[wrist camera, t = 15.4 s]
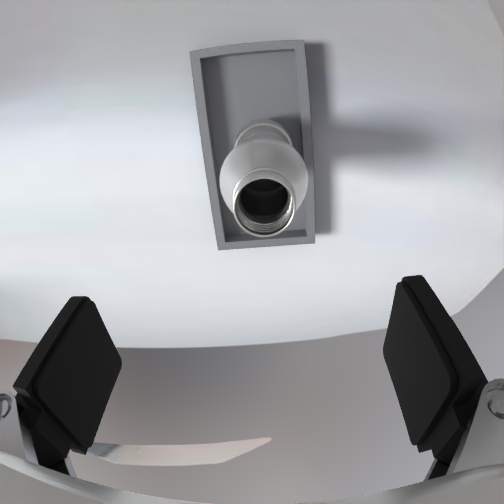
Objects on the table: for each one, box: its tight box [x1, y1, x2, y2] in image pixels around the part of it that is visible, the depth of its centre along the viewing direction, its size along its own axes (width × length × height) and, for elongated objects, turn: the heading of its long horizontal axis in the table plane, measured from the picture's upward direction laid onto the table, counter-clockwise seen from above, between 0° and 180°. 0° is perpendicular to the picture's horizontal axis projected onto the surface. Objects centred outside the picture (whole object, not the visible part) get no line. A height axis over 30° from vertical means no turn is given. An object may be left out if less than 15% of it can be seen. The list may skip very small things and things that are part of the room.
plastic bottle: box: [219, 119, 308, 237], centre depth 26 cm, size 6×7×20 cm
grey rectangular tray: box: [190, 40, 315, 250], centre depth 34 cm, size 24×12×3 cm, turn 6°
